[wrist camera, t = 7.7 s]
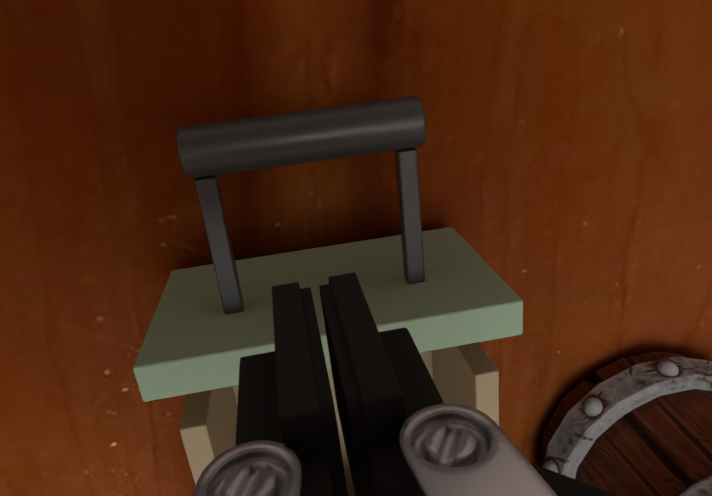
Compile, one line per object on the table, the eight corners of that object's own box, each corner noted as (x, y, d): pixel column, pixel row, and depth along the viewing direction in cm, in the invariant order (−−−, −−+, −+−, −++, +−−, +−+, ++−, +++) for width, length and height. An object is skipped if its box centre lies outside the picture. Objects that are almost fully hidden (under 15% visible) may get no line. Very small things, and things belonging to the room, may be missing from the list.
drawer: (130, 115, 19) (65, 156, 13) (446, 75, 20) (527, 95, 14) (236, 521, 27) (226, 672, 20) (462, 475, 28) (520, 605, 21)
